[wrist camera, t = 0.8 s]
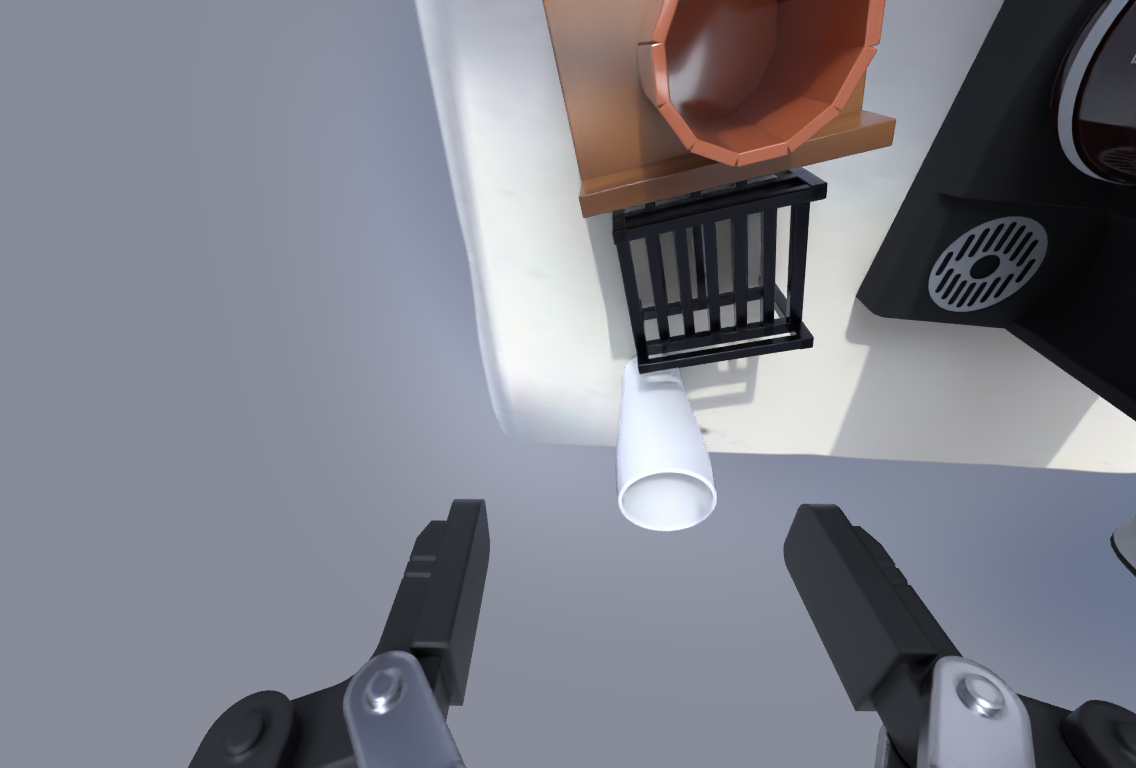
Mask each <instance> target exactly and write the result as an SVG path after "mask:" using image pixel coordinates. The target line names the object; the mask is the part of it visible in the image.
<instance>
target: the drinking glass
mask: <svg viewBox="0 0 1136 768" xmlns="http://www.w3.org/2000/svg"><path fill="white" fill-rule="evenodd" d="M663 356H666V355H664V354H656V355H650V356H649V359H651V358H657V357H663ZM616 484H617V496H618V505H619V508H620V511H621V512H622V514H623V515H624V516H625V517H626V518H627V519H628V520H629V521H631V522H632V523H634V524H636V525H638V526H640V527H643V528H646V529H650V530H656V531H676V530H681V529H686V528H689V527H692V526H694V525H696V524H698V523H700V522H702V521H703V520H705V519H706V518H707V517H708V516H709V515H710V514H711V513H712V512H713V510H714V508H715V506H716V503H717V493H716V487H715V481H714V476H713V472H712V467H711V463H710V459H709V455H708V452H707V448H706V445H705V442H704V440H703V437H702V434H701V432H700V429H699V426H698V424H697V421H696V418H695V416H694V413H693V410H692V408H691V405H690V402H689V400H688V397H687V394H686V391H685V389H684V386H683V383H682V380H681V376H680V371H679V369H678V368H675V369H668V370H662V371H655V372H650V373H645V374H639V371H638V365H637V356H636V357H634V358H633V359H631V360H630V361H629V362H628V363H627V365H626V366H625V368H624V370H623V373H622V396H621V407H620V418H619V428H618V438H617V450H616Z"/></svg>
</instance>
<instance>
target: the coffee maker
mask: <svg viewBox="0 0 1136 768" xmlns="http://www.w3.org/2000/svg"><path fill="white" fill-rule="evenodd" d="M856 297H857V298H858V299H859V300H860V301H861V302H862V303H863V304H864V305H865V306H866V307H867V308H868V309H869V310H870V311H871V312H872V313H873V314H875V315H878V316H881V317H886V318H897V319H907V320H918V321H929V322H940V323H951V324H962V325H972V326H983V327H994V328H1005V329H1006V330H1007V331H1009V332H1010V333H1012V334H1013V335H1015V336H1016V337H1017V338H1019V339H1020V340H1022V341H1023V342H1024V343H1026V344H1027V345H1029V346H1030V347H1031V348H1033V349H1034V350H1036V351H1037V352H1039V353H1040V354H1041V355H1043V356H1044V357H1046V358H1047V359H1048V360H1050V361H1051V362H1053V363H1054V364H1055V365H1057V366H1058V367H1060V368H1061V369H1063V370H1064V371H1065V372H1067V373H1068V374H1070V375H1071V376H1072V377H1074V378H1075V379H1077V380H1078V381H1080V382H1081V383H1082V384H1084V385H1085V386H1087V387H1088V388H1089V389H1091V390H1092V391H1094V392H1095V393H1096V394H1098V395H1099V396H1101V397H1102V398H1104V399H1105V400H1106V401H1108V402H1109V403H1111V404H1112V405H1113V406H1115V407H1116V408H1118V409H1119V410H1120V411H1122V412H1123V413H1125V414H1126V415H1128V416H1129V417H1130V418H1132V419H1133V420H1135V421H1136V0H1005V2H1004V4H1003V6H1002V8H1001V10H1000V12H999V14H998V16H997V18H996V20H995V22H994V24H993V26H992V28H991V30H990V32H989V34H988V36H987V38H986V40H985V42H984V44H983V46H982V48H981V50H980V52H979V54H978V56H977V58H976V60H975V62H974V64H973V66H972V68H971V70H970V72H969V74H968V76H967V78H966V80H965V82H964V84H963V86H962V88H961V90H960V92H959V94H958V96H957V98H956V99H955V101H954V103H953V105H952V107H951V109H950V111H949V113H948V115H947V117H946V119H945V121H944V123H943V125H942V127H941V129H940V131H939V133H938V135H937V137H936V139H935V141H934V143H933V145H932V147H931V149H930V151H929V153H928V155H927V157H926V159H925V161H924V163H923V165H922V167H921V169H920V171H919V173H918V175H917V177H916V179H915V181H914V183H913V185H912V187H911V189H910V191H909V193H908V195H907V196H906V198H905V200H904V202H903V204H902V206H901V208H900V210H899V212H898V214H897V216H896V218H895V220H894V222H893V224H892V226H891V228H890V230H889V232H888V234H887V236H886V238H885V240H884V242H883V244H882V246H881V248H880V250H879V252H878V254H877V256H876V258H875V260H874V262H873V264H872V266H871V268H870V270H869V272H868V274H867V276H866V278H865V280H864V282H863V284H862V286H861V288H860V290H859V292H858V294H857V295H856ZM1110 541H1111V546H1112V548H1113V550H1114V552H1115V553H1116V555H1117V557H1118V558H1119V559H1120V561H1121V562H1122V563H1123V564H1124V565H1125V566H1126V568H1127V569H1128V570H1129V571H1130V572H1131V573H1133V575H1134V576H1135V577H1136V515H1135V516H1134V517H1133V518H1131V519H1130V520H1129V521H1127V522H1126V523H1124V524H1123V525H1122V526H1120V527H1119V528H1117V529H1116V531H1115V532H1114V533H1113V534H1112V536H1111V538H1110Z"/></svg>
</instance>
